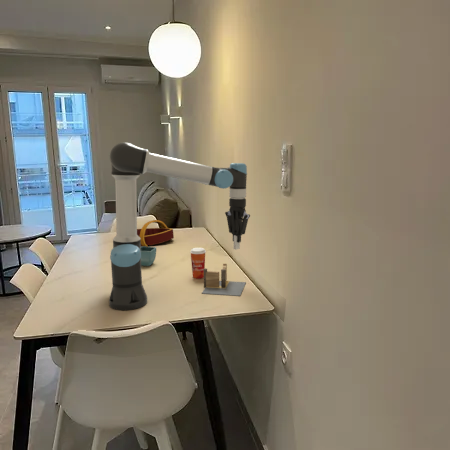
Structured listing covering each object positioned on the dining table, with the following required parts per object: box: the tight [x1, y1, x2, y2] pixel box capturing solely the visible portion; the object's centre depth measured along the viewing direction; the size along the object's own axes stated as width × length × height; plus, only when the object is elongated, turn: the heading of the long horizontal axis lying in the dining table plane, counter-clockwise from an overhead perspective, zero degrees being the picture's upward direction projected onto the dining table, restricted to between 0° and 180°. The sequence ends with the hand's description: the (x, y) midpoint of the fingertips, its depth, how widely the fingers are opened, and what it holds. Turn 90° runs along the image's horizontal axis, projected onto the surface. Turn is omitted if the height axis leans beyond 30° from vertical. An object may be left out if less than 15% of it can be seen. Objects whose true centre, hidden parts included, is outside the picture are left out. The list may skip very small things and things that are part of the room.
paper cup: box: [189, 247, 207, 280], centre depth 192 cm, size 8×8×14 cm
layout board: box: [201, 280, 246, 297], centre depth 178 cm, size 17×17×1 cm
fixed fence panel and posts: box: [203, 268, 227, 288], centre depth 178 cm, size 2×10×8 cm, turn 79°
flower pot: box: [141, 246, 157, 267], centre depth 213 cm, size 9×9×9 cm
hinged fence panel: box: [222, 263, 228, 281], centre depth 183 cm, size 9×2×8 cm, turn 176°
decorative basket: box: [137, 219, 175, 247], centre depth 265 cm, size 34×29×15 cm
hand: (236, 248), depth 181 cm, fingers closed
